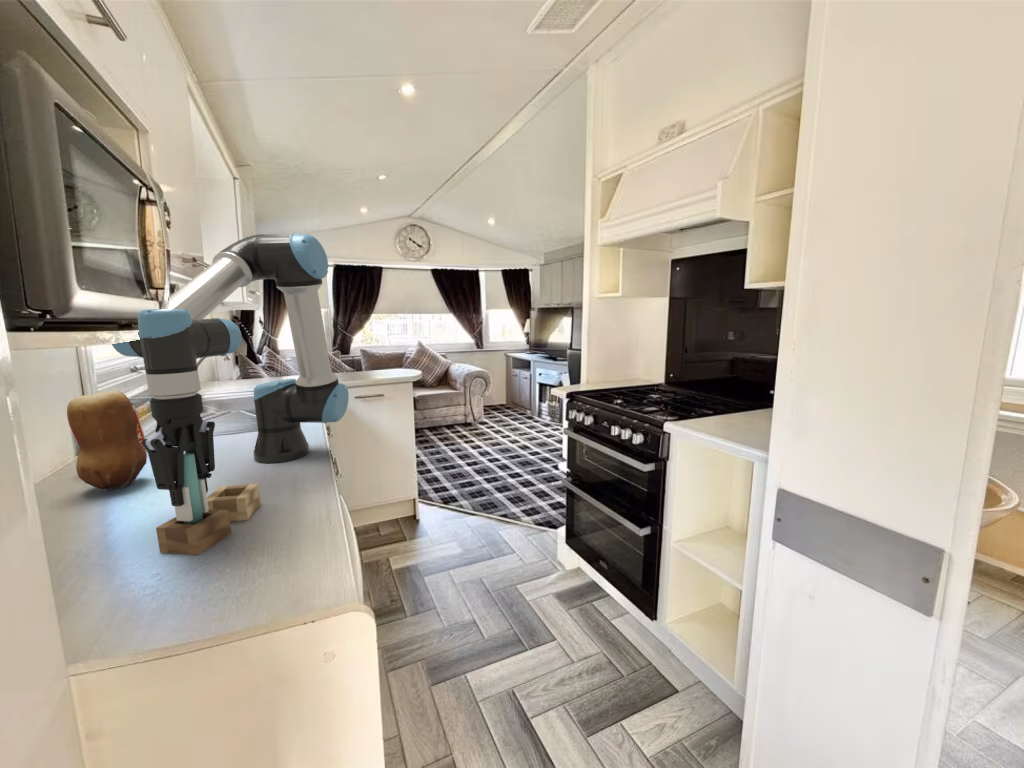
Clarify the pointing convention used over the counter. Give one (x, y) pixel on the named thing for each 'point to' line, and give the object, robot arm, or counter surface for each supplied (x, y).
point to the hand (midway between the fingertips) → (193, 515)
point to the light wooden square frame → (236, 500)
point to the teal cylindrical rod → (192, 487)
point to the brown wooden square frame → (194, 533)
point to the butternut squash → (106, 440)
